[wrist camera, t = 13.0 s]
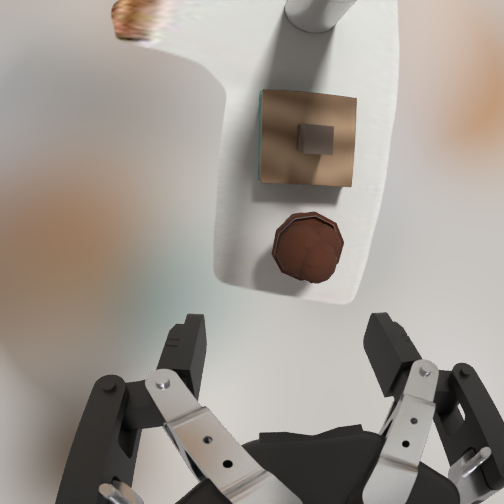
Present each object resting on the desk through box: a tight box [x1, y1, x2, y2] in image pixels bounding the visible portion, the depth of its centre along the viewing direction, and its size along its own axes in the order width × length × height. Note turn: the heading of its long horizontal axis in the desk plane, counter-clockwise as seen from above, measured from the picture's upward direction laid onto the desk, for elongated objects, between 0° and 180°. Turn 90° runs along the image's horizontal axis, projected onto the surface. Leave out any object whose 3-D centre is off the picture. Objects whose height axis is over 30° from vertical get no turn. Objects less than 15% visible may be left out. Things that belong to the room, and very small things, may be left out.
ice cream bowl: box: [272, 212, 344, 283], centre depth 44 cm, size 11×11×15 cm
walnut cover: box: [260, 89, 357, 187], centre depth 40 cm, size 15×15×10 cm
